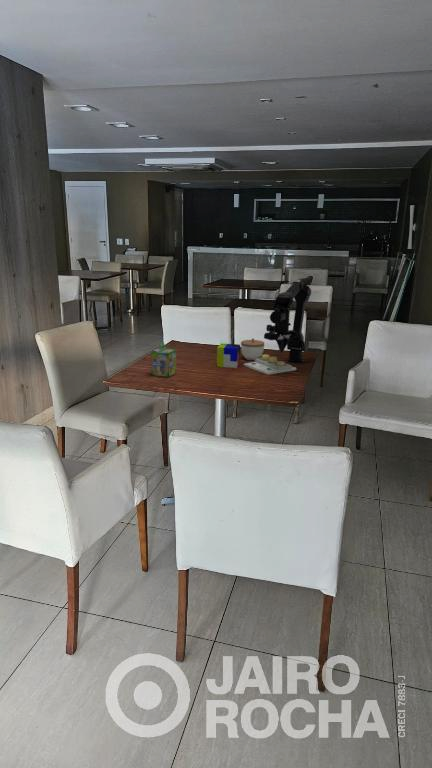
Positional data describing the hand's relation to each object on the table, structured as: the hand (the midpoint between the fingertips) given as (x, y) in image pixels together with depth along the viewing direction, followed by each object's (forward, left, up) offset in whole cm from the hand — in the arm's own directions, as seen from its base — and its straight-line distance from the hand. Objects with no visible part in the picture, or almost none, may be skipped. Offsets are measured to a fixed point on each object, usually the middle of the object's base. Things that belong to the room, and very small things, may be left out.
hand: (281, 352), depth 244 cm
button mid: (0, -6, -7) cm, 9 cm away
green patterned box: (+54, -21, -9) cm, 59 cm away
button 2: (0, 0, -8) cm, 8 cm away
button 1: (0, -12, -7) cm, 14 cm away
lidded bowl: (-2, -26, -9) cm, 28 cm away
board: (+2, -6, -9) cm, 11 cm away
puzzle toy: (+17, -21, -9) cm, 29 cm away
